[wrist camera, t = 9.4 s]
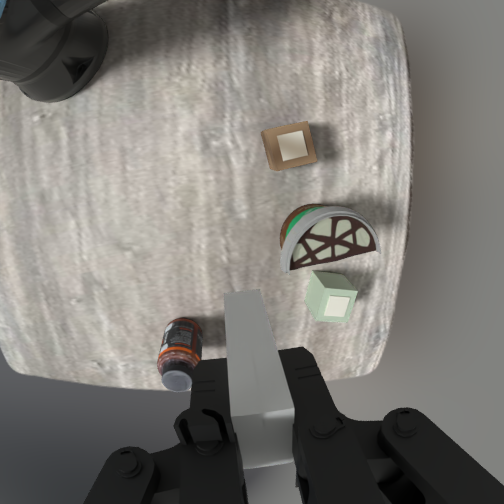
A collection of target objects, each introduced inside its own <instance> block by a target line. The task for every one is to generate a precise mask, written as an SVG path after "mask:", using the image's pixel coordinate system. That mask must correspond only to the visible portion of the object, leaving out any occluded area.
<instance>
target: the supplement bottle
mask: <svg viewBox="0 0 504 504" xmlns="http://www.w3.org/2000/svg"><path fill="white" fill-rule="evenodd" d="M202 338H203V337H202V331H201V329H200V327H199V326H198V325H197V324H196V323H195V322H193V321H191V320H189V319H182V318H181V319H176V320H173V321H171V322H170V323H169V324H168V325H167V327H166V329H165V332H164V336H163V340H162V345H161V349H160V353H159V357H158V362H157V367H158V371H159V373H160V374H161V375H162V383H163V385H164V386H165V387H166V388H167V389H169V390H171V391H174V392H184V391H187V390H189V389H190V388H191V386H192V374H193V370H194V368H195V367H196V365H197V364H198V362H199V361H200V360H201V357H202Z"/></svg>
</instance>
